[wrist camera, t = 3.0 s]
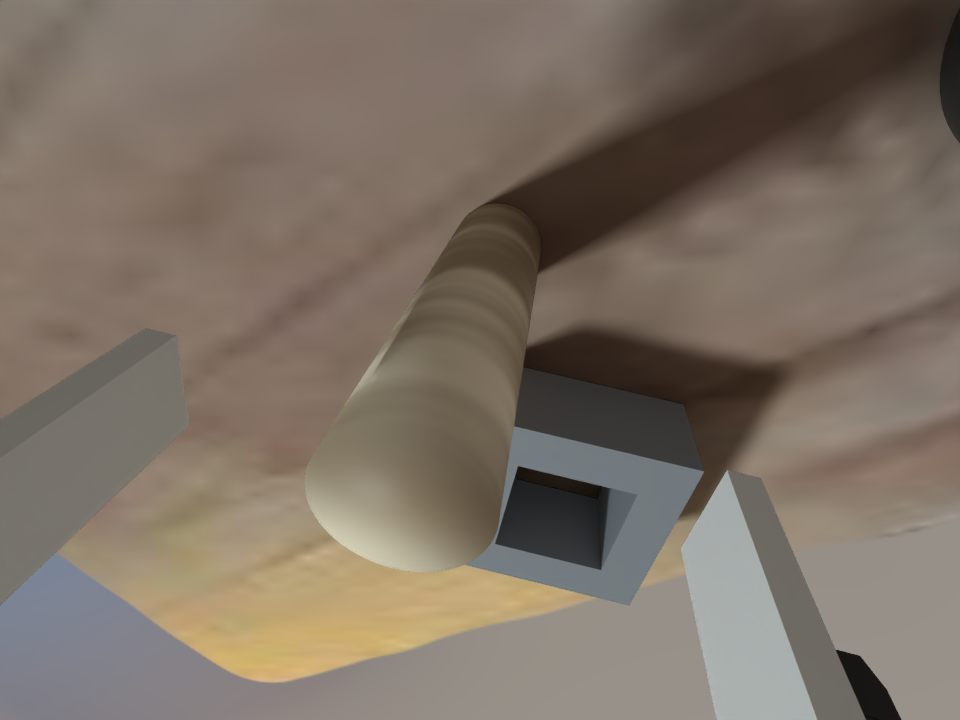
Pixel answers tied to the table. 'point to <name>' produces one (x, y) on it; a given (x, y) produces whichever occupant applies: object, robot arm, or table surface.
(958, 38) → the jar
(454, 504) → the peg
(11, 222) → the table surface
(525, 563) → the socket
